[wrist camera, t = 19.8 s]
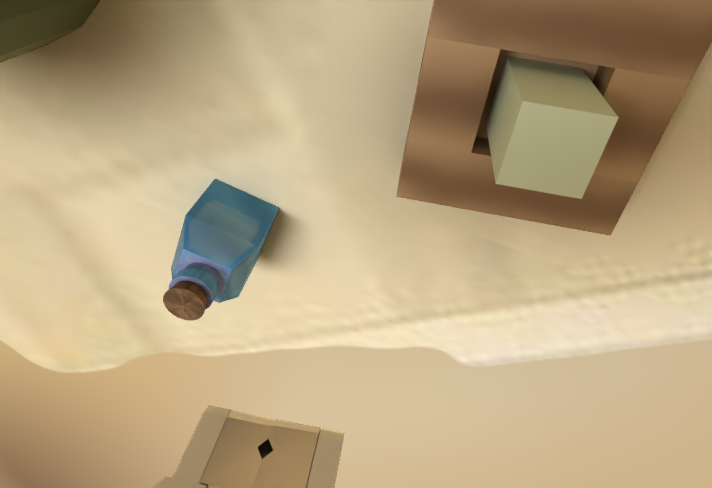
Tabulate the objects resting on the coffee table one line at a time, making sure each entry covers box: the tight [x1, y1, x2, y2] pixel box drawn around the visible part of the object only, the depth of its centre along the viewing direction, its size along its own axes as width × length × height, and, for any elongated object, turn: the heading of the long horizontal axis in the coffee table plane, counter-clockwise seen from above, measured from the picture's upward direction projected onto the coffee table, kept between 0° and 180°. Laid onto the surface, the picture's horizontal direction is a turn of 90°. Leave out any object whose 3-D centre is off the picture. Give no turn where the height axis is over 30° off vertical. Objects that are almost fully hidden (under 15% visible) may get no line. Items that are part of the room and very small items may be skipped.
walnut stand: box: [396, 0, 712, 235], centre depth 34 cm, size 16×16×4 cm
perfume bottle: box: [163, 179, 279, 320], centre depth 42 cm, size 6×6×12 cm
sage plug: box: [486, 55, 619, 199], centre depth 31 cm, size 5×5×9 cm
